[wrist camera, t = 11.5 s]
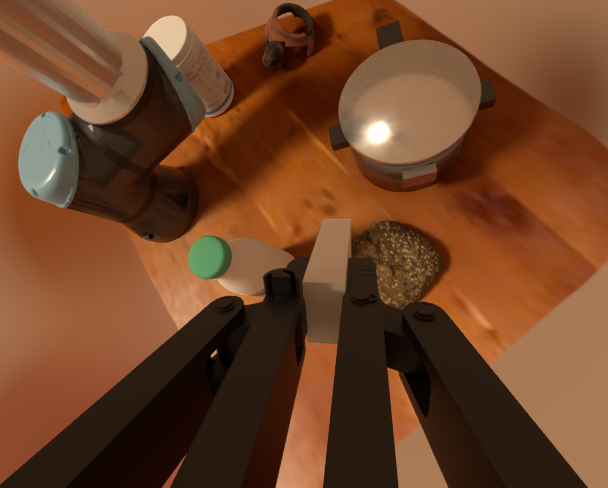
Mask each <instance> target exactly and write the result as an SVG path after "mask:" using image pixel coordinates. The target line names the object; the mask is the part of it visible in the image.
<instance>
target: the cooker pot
mask: <svg viewBox="0 0 608 488" xmlns="http://www.w3.org/2000/svg"><path fill="white" fill-rule="evenodd" d="M480 83H481V98H480V104H479V107H478V111H479V110H482V109H486V108H489V107H493V105H494V103H495V100H496V96H495V93H494V89H493V86H492V83H491V80H490V78H488V79H485V80H481V81H480ZM468 130H469V129H468ZM467 132H468V131H467ZM329 134H330V140H331V146H332V148H333V150H334V151H335V150H339V149H342V148H346V147H349V146H350V145H349V143H348V141H347V140H346V138H345V136H344V134H343V131H342V128H341V125H340V124H336V125H333V126H330V127H329ZM466 135H467V133H466V134H465V135H464V136H463V137H462V139H461V140H460V141H459V142H458V143H457V144H456V145H454V146H453V147H452V148H451V149H449V150H448V151H447V152H445V153H444V154H442V155H440V156H438V157H437V158H434V159H432V160H430V161H427V162H424V163H421V164H417V165H411V166H401V167H397V166H386V165H381V164H378V163H374V162H372V161H370V160H368V159H366V158H364V157H363V156H361V155H359V154H358V153H357V152H356V151H355V150H354V149H353V148H352V147H351V148H352V151H353V154H354V157H355V160H356V163H357V165H358V167H359V169H360V171H361V173H362V174H363V175H364V176H365V178H367V179H368V180H369V181H370V182H371V183H373V184H374V185H376V186H378V187H380V188H382V189H385V190H389V191H394V192H410V191H416V190H420V189H423V188H426V187H428V186H430V185H432V184H434V183H436V182H437V181H439V180H440V179H441V178H443V177H444V176H445V175H446V174H447V173H448V172H449V171H450V169H451V168H452V167H453V165H454V164H455V162H456V161H457V158H458V156H459V154H460V151H461V148H462V146H463V143H464V140H465V138H466Z"/></svg>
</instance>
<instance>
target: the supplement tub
mask: <svg viewBox="0 0 608 488" xmlns="http://www.w3.org/2000/svg"><path fill="white" fill-rule="evenodd" d="M146 36H150V37H152V38H153V39H154V40H155V41H156V42H157V43H158V45H159V46H160V47H161V48H162V49H163V51H164V52H165V53H166V54H167V56H168V57H169V58H170V59H171V61H172V62H173V63H174V65H175V66H176V67H177V69H178V70H179V71H180V72H181V74H182V76H184V78H185V79H186V80H187V81H188V83H189V84H190V85H191V87H192V88H193V89H194V91H195V92H196V93H197V95H198V96H199V97H200V99H201V100H202V102H203V103H204V105H205V108H206V115H205V117H215V116H218V115H220V114H221V113H223V112H224V111H225V110H226V109H227V108H228V107H229V105H230V104H231V102H232V100H233V96H234V86H233V83H232V81H231V80H230V78H229V77H228V76H227V74H226V73H225V72H224V70H223V69H222V68H221V67H220V65H219V64H218V63H217V61H216V60H215V59H214V57H213V56H212V55H211V54H210V52H209V51H208V50H207V48H206V47H205V46H204V44H203V43H202V42H201V41H200V39H199V38H198V37H197V35H196V34H195V33H194V31H193V30H192V29H191V28H190V27H189V26H188V25H187V24H186V23H185V21H184V20H183V19H182V18H180V17H178V16H167V17H164V18H162V19H160V20H158V21H156V22H155V23H154V24H153V25H152V26H151V27H150V28H149V29H148V31H147V32H146V34H145V35H144V37H146ZM144 37H143V38H144Z"/></svg>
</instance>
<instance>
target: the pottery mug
mask: <svg viewBox="0 0 608 488" xmlns="http://www.w3.org/2000/svg"><path fill="white" fill-rule="evenodd" d="M287 12H291V13H293V15H294V17H300V18H301V19H303V20H304V21H305V22H306V23H307V24H308V30H307V33H308V36H307V35H306V34H305V33H300V34H295V33H291V32H288V31H286V30H285V29H283V28H282V27H281V25H280V24H279V22H278V20H277V17H278V16H280V15H282V14H284V13H287ZM281 42H285V46H286V47H297V46H306V45H307V55H308V56H310V55H311V53H312V52H313V48H314V47H313V45H314V43H315V37H314V31H313V20H312V18H311V16H310V15H309V13H308V12H307V11H306V10H305V9H304V8H302V7H300V6H299V5H295V4H291V3H285V4H282V5H280V6H278V7H277V8H276V9H275V11H274V13H273V16H272V17H271V18H270V19H269V20H268V21H267V23H266V26H265V30H264V43H265V52H264V54H263V57H262V62H263V64H264V66H265V67H266V68H268V69H274V68H282V67H283V56H284V48H283V45H282V44H281Z"/></svg>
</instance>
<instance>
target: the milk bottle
mask: <svg viewBox="0 0 608 488" xmlns="http://www.w3.org/2000/svg"><path fill="white" fill-rule="evenodd" d="M293 259H294V256H292V255H291V254H290V253H288V252H286V251H284V250H282V249H279V248H277V247H275V246H272V245H270V244H268V243H265V242H263V241H260V240H257V239H254V238H247V237H242V238H236V239H232V240H230V241H226V240H224V239H221V238H218V237H215V236H204V237H202V238H200V239H198V240H197V241H196V242H195V243H194V244H193V246H192V248H191V250H190V253H189V266H190V268H191V270H192V272H193V273H194V274H195V275H197V276H198V277H200V278H204V279H212V280H218V281H219V282H220V283H221V285H222V286H224V287H225V288H226V289H228V290H229V291H231V292H233V293H237V294H240V295H247V296H260V297H265V296H266V295H265V288H264V282H263V276H264V275H265V274H266V273H267V272H269V271H271V270H274V269H278V268H286V267H287V265H288V263H289V262H291V261H292V260H293Z"/></svg>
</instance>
